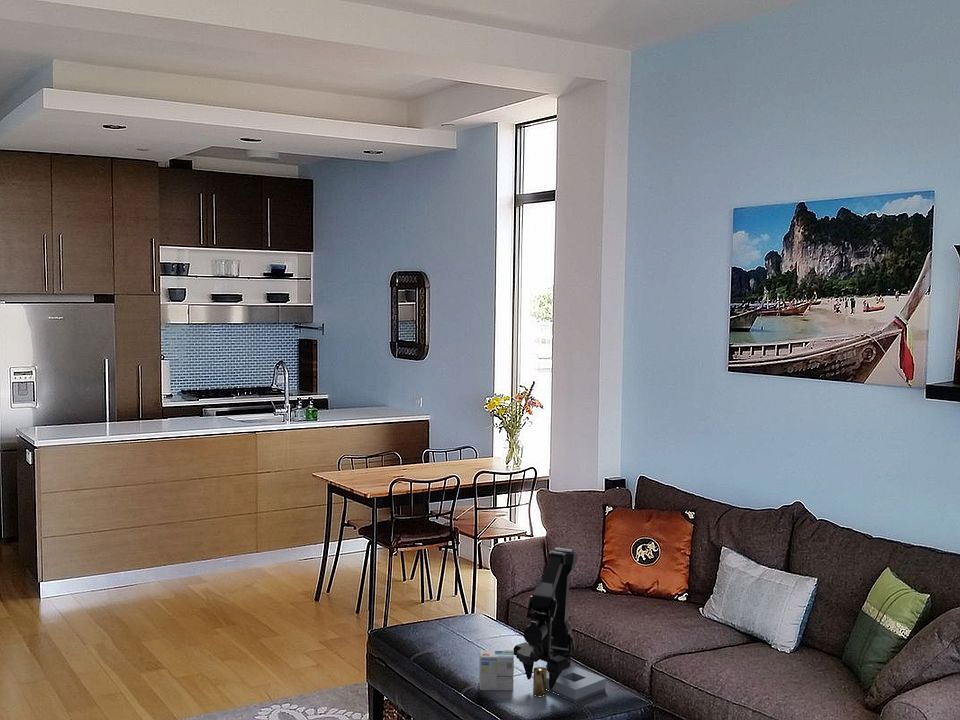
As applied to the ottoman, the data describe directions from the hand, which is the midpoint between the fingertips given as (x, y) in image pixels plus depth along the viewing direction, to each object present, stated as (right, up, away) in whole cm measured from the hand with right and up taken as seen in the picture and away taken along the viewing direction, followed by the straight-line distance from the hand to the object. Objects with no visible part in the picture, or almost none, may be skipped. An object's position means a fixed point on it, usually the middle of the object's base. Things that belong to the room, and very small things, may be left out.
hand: (539, 683), depth 316 cm
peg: (0, -3, 0) cm, 3 cm away
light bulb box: (-13, -3, +6) cm, 15 cm away
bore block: (+11, -3, +5) cm, 12 cm away
